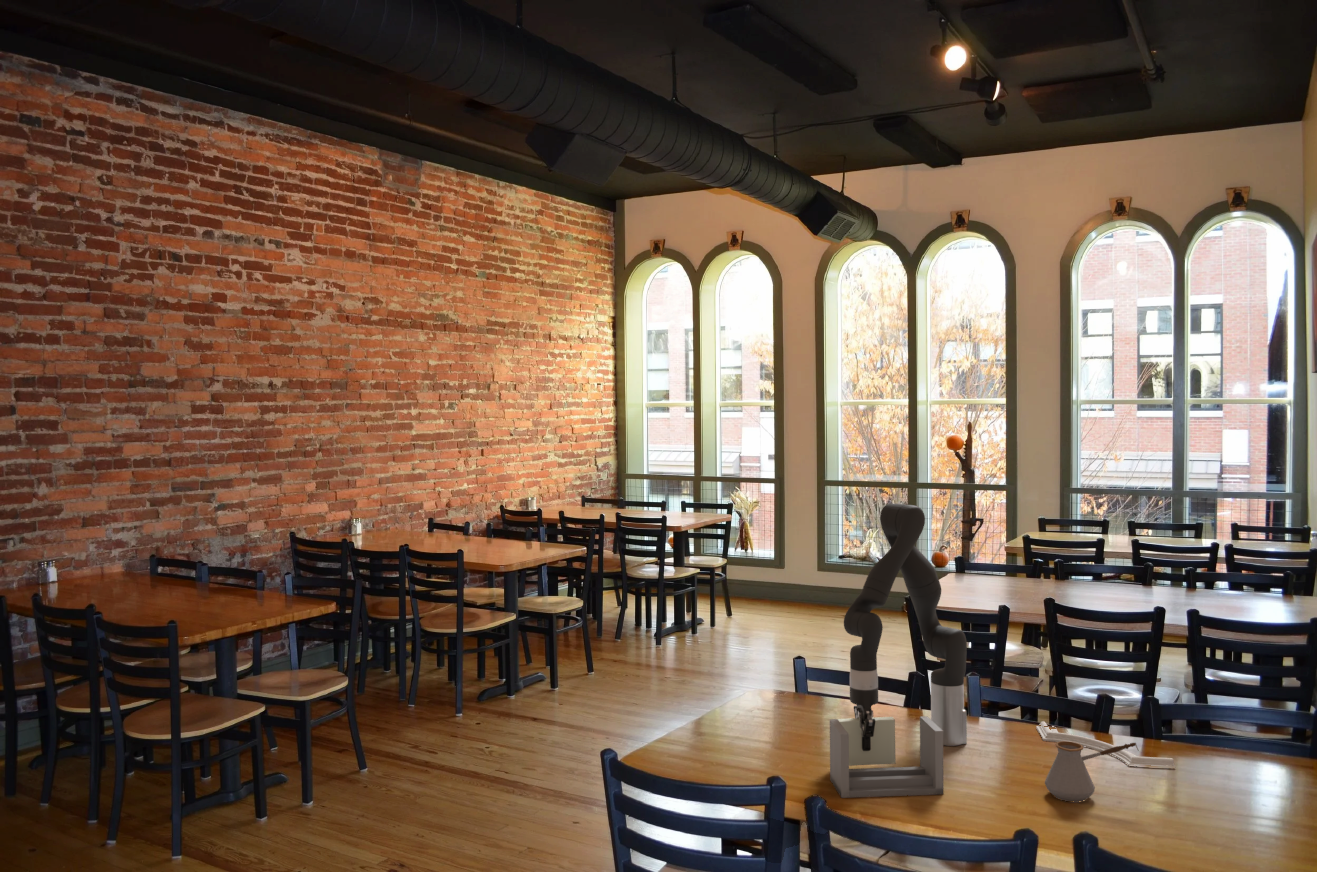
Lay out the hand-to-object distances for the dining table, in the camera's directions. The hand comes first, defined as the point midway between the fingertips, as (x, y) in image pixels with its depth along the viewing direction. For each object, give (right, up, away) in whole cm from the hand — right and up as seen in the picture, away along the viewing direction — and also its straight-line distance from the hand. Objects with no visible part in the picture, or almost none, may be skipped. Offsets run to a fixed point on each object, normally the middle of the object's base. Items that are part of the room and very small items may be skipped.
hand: (864, 748), depth 263 cm
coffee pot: (+51, -6, -22) cm, 56 cm away
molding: (+70, -5, +15) cm, 72 cm away
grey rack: (+3, -6, -13) cm, 14 cm away
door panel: (0, -4, 0) cm, 4 cm away
